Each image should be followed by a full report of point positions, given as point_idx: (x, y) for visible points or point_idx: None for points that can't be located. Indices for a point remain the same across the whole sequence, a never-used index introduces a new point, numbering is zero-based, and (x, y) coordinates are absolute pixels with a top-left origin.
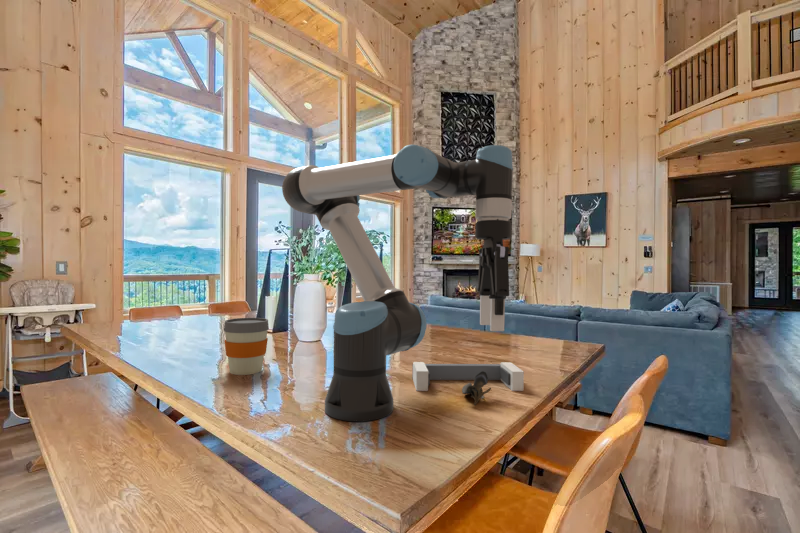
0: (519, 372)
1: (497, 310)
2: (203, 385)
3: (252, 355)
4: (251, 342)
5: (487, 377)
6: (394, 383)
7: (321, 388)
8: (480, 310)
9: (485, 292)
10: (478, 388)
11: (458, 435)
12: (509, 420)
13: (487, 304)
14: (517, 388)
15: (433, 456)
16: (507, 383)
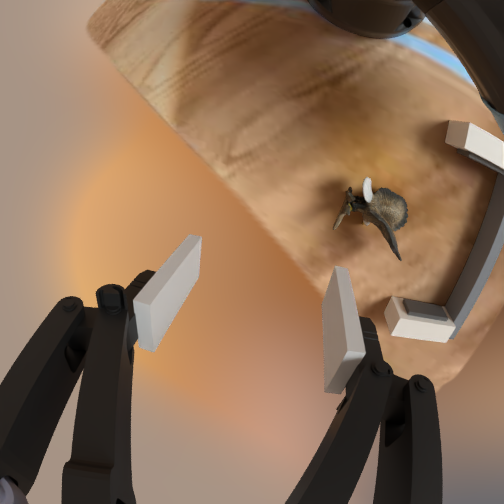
0: (394, 327)
1: (134, 281)
2: None
3: None
4: None
5: (398, 258)
6: None
7: None
8: (347, 300)
9: (353, 385)
10: (370, 217)
11: (219, 106)
12: (264, 215)
13: (333, 343)
14: (388, 306)
15: (162, 57)
16: (407, 300)
